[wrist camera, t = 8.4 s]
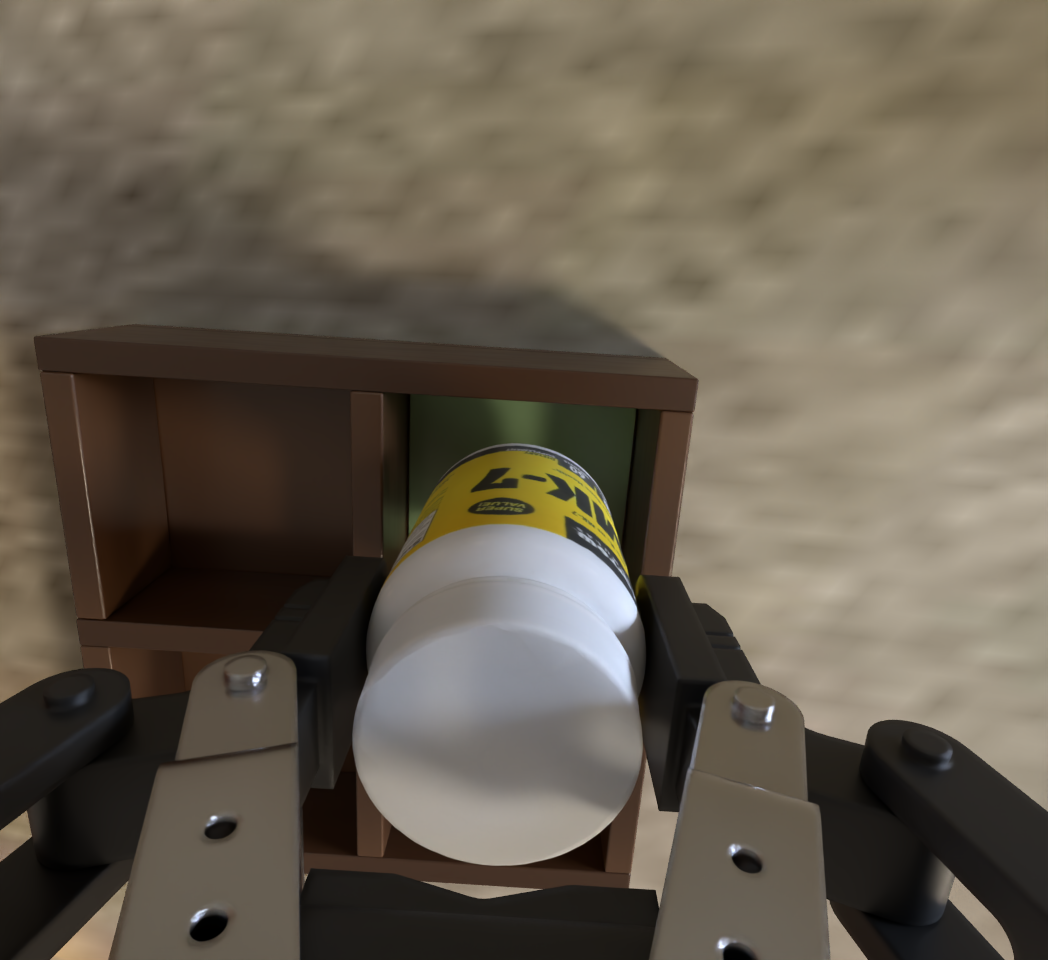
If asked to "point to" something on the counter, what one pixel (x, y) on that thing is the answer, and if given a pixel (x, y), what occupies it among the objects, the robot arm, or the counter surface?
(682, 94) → the counter surface
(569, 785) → the supplement bottle
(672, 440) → the grid
